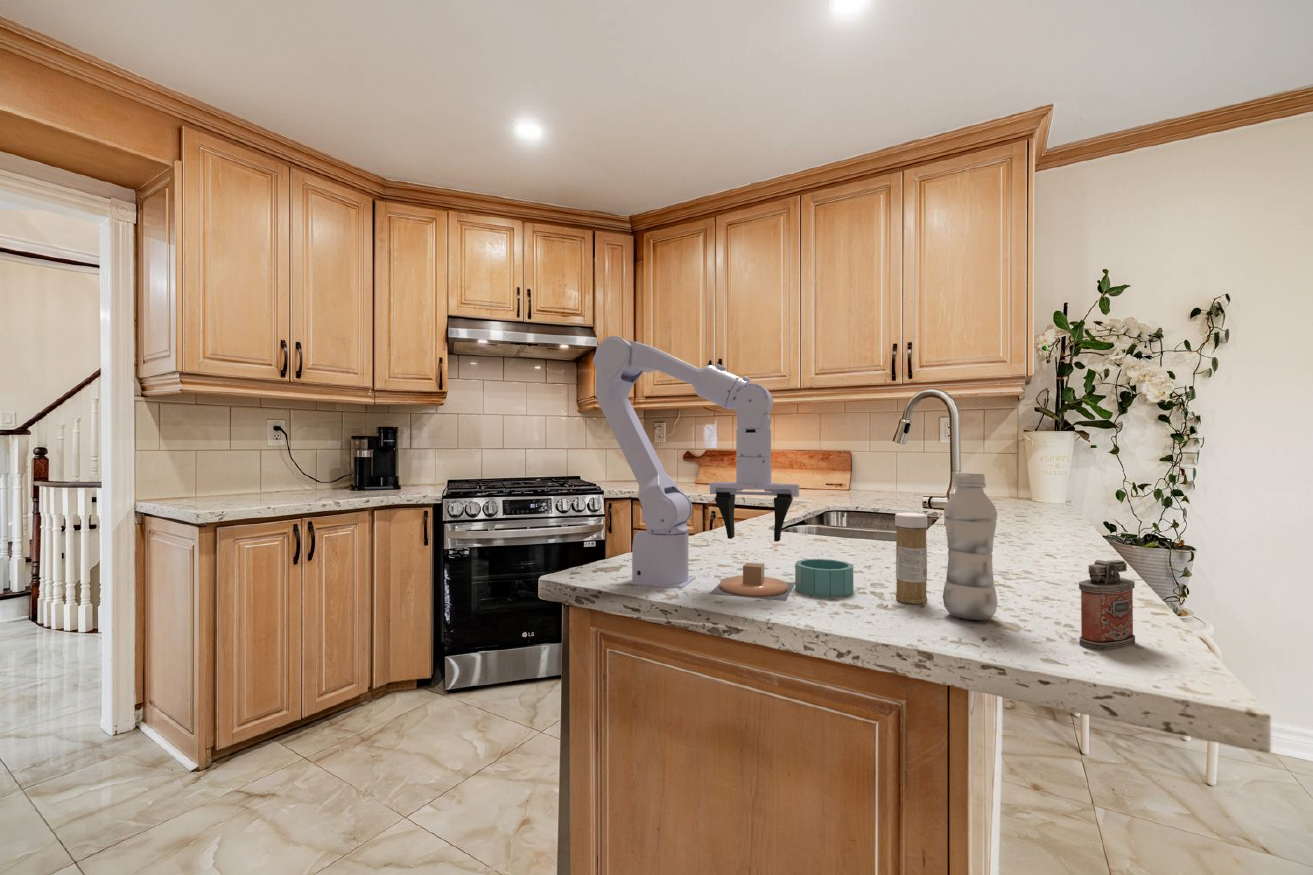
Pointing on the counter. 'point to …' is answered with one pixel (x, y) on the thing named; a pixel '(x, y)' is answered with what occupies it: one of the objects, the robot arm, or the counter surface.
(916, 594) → the sprinkles bottle
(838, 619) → the counter surface
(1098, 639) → the lighter
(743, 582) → the lid
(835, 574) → the bowl
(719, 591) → the mat
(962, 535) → the plastic bottle
